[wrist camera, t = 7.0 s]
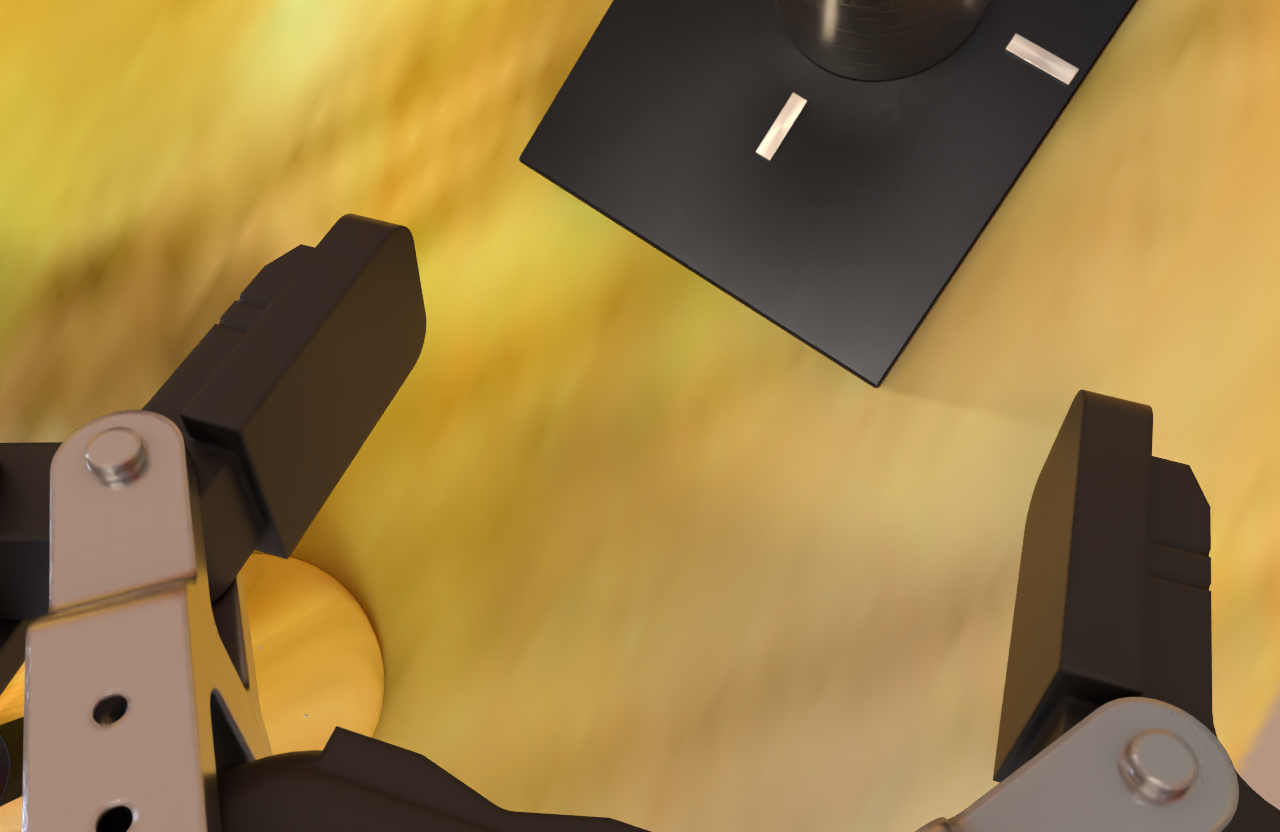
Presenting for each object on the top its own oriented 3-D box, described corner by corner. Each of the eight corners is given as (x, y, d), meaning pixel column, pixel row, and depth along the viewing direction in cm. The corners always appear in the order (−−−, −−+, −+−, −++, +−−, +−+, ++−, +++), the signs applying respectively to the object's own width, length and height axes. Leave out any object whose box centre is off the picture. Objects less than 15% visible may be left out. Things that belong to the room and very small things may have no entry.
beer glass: (279, 869, 28) (-358, 1387, 14) (99, 669, 29) (-679, 955, 15) (459, 679, 27) (-24, 1022, 13) (267, 477, 28) (-394, 577, 13)
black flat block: (877, 389, 25) (877, 389, 22) (549, 180, 27) (514, 158, 24) (1180, -65, 24) (1219, -121, 21) (816, -261, 25) (809, -336, 22)
